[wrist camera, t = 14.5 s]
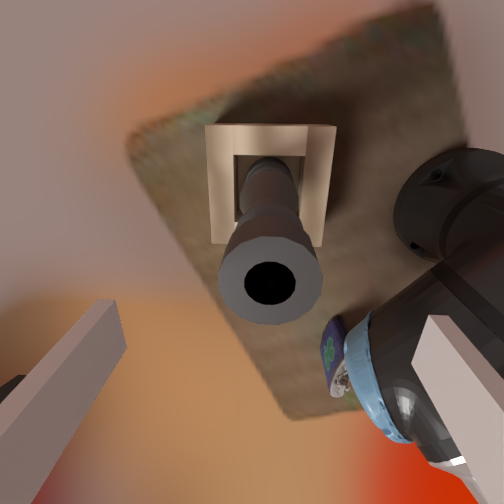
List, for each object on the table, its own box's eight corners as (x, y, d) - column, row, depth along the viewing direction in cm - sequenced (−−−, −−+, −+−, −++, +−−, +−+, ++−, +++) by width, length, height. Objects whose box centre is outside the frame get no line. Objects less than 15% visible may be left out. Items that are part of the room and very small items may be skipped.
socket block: (326, 124, 35) (336, 126, 30) (314, 229, 41) (321, 247, 36) (214, 122, 36) (204, 124, 30) (219, 226, 42) (211, 243, 37)
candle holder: (294, 199, 39) (331, 322, 16) (250, 207, 39) (226, 333, 17) (289, 152, 36) (323, 221, 14) (241, 161, 37) (199, 240, 14)
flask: (331, 355, 52) (345, 410, 43) (316, 353, 52) (326, 407, 43) (346, 316, 48) (364, 367, 38) (329, 313, 48) (343, 363, 38)
